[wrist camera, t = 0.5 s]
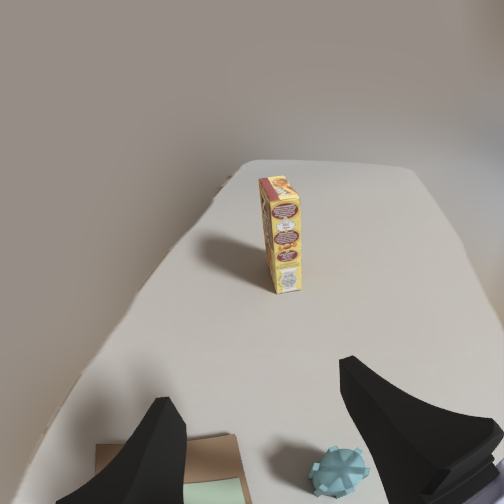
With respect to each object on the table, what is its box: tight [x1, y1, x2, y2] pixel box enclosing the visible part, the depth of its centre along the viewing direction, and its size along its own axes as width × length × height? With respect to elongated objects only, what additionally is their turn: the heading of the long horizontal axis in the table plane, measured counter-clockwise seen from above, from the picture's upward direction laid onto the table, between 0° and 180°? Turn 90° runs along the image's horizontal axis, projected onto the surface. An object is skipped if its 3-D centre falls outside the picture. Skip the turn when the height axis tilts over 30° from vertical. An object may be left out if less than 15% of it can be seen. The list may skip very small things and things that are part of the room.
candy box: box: [259, 176, 301, 294], centre depth 42 cm, size 9×4×15 cm, turn 9°
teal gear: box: [308, 445, 370, 499], centre depth 18 cm, size 5×4×5 cm
